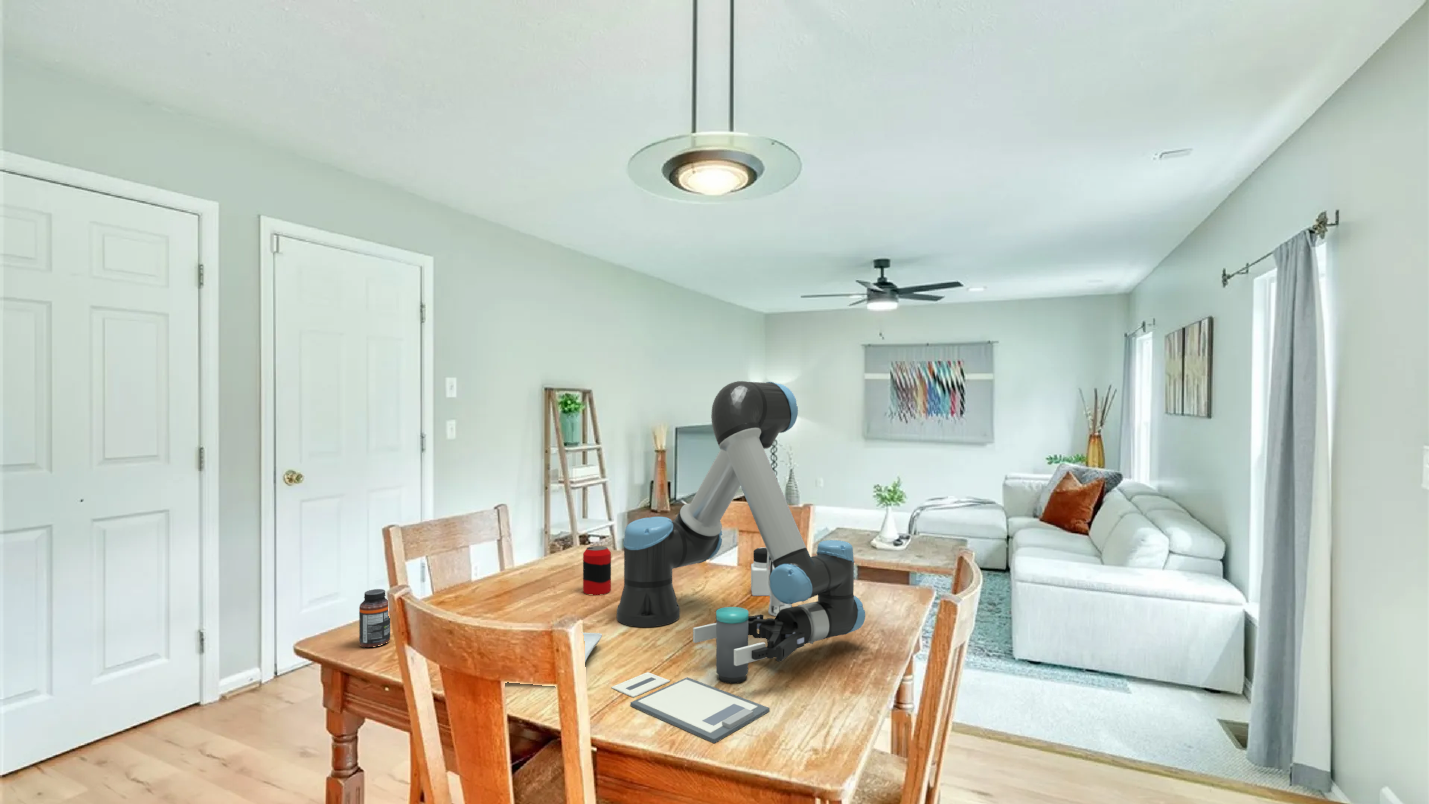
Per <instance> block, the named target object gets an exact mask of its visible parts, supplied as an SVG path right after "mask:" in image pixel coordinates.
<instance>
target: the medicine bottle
mask: <svg viewBox="0 0 1429 804" xmlns="http://www.w3.org/2000/svg"><path fill="white" fill-rule="evenodd" d="M767 552H768V551H767V549H766V546H765V547H764V546H763V547H757V548H754V550H753V563H750V589H751V596H752V597H754V596H755V597H762V596H763V597H766V596H767V597H770V593H769V587H768V581H767V569H766V568H767Z"/></svg>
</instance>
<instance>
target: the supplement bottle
mask: <svg viewBox="0 0 1429 804" xmlns="http://www.w3.org/2000/svg"><path fill="white" fill-rule="evenodd" d="M363 598H364V600H363V601H362V602H361V603H360V604H359V608H358V609H359V610H358V611H359V613H358V614H359V615H358V617H359V619H358V622H359V624H358V625H359V627H358V628H359V631H358V632H359V635H358V637H359V638H358V640H359V646H360V645H361V646H360V647H362V646H363V647H362V648H365V647H373V646H378V645H381V644H385V643H386V642H388V641H389V640H391V617H390V618H389V616H388V600H389V599H388V600H387V598H386V590H385V589H384V588H376V589H375V588H374V589H369V590H366V591H365V592H364V597H363ZM389 642H390V641H389ZM389 642H388V643H389ZM385 645H386V644H385Z"/></svg>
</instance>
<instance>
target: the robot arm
mask: <svg viewBox="0 0 1429 804" xmlns="http://www.w3.org/2000/svg"><path fill="white" fill-rule="evenodd" d="M798 407H799V406H798V405H797V398H796V397H795V395H794V393H793V391H792V390H791V389H790V388H789V387H787V386H786V385H784V384H781V383H776V382H773V381H766V382H759V381H758V382H755V381H745V380H744V381H743V380H740V381H739V380H737V381H733V382H731V383H728V384H726V385H725V386H723V387H722V388H721V389H720V390H719V392H718V393H717V394H716V396H715V398H714V400H713V401H712V406H711V414H710V415H711V425H712V431H713V434H714V437H715V439H716V440H715V441H716V442H717V444H718V447H719V452H718V453H717V455H716V456H715V459H714V461H713V462H712V464H711V466H710V468H709V469H708V472H707V473H706V475H705V476H704V478H703V480H702V482H701V484H700V486H699V487H698V489H697V491H696V492H695V494H694V497H692V500H691V502H689V503H686V504H684V505H682V506H681V508H680V510H679V512H678V513H677V515H676V516H675V518H674V520H672V519H671V518H669V517H666V516H651V517H643V518H638V519H635V520H633V521H631V522H629V524H627V525H626V527H625V529H624V539H623V559H624V560H623V564H624V565H623V587H622V588H623V589H622V592H621V596H620V600H619V604H618V605H617V608H616V621H618V622H619V623H621V624H623V625H626V626H631V627H636V628H637V627H638V628H651V627H653V628H654V627H660V626H665V625H669V624H672V623H675V622H677V621H678V620H679V619H680V605H679V603H678V599H677V597H676V593H675V589H674V586H673V585H674V584H673V570H675V569H677V568H683V567H686V566H691V565H696V564H701V563H705V562H706V561H708V560H711V559H712V558H713V557H715V556H716V555H717V554H718V552H719V551H720V549H721V547H722V542H723V538H722V536H723V531H722V529H723V525H722V521H721V520H722V518H723V517H724V515H725V513H726V511H727V510H728V508H729V506H730V505H731V503H732V501H733V499H734V498H735V496H736V495H737V492H738V491H739V489H740V488H741V491H742V493H743V496H744V498H745V500H746V503H747V505H748V507H749V510H750V512H751V514H752V517H753V519H754V521H755V524H756V527H757V529H758V532H759V534H760V536H761V539H762V541H763V544H764V546H765V547H766V549H767V551H768V553H769V556H770V558H771V561H772V563H773V566H774V570H773V571H772V573H771V575H770V588H771V591H772V593H773V595H774V596H775V597H776V598H777V599H778V600H779V601H780V602H782V603H785V604H796V603H800V602H802V603H803V604H798V605H796V606H792V607H790V608H785V609H782V610H780V611H779V612H778V614H777V616H774V618H772V617H769V618H768V617H767V618H765V617H764V614H756V615H748V636H752V637H753V638H754V639H765V640H766V643H765V642H764V641H762V642H758V643H754V644H748V646H745V647H741V648H737V649H734V665H735V666H738V665H742V664H746V663H748V664H749V663H752V662H756V661H760V660H763V659H766V658H767V659H768V660H773V659H774V658H775V661H777V662H783V661H784V660H785V659H786V658H788V657H789V656H790V655H792V654H793V653H794V652H795V651H797V650H798V649H800V648H803V647H804V646H805V645H807V644H810V645H814V642H817V641H823V640H825V639H830V638H833V637H837V636H844V635H848V634H849V633H853V632H855V631H857V630H859V629H860V628H862V627H863V625H864V624H865V620H866V610H865V608H864V607H863V606H864V605H863V602H862V600H861V599H860V598H858V597H857V596H856V595H854V589H855V588H854V587H855V586H854V582H855V581H854V580H855V579H854V577H855V576H854V575H855V558H854V547H853V545H852V544H851V543H849V542H848V541H844V540H839V539H838V540H837V539H827V540H821V541H820V542H819V543H818V545H817V548H816V549H817V551H816V555H812V556H811V555H810V552H809V551H808V548H807V546H806V543H805V542H804V541H805V540H804V539H803V537H802V534H801V532H800V530H799V527H798V525H797V523H796V521H795V518H794V516H793V513H792V511H791V509H790V506H789V504H788V502H787V499H786V497H785V495H784V493H783V490H782V487H781V485H780V483H779V482H778V479H777V477H776V474H775V472H774V469H773V467H772V464H771V462H770V460H769V458H768V455H767V453H766V451H765V450H767V449H770V448H771V447H772V446H773V444H774V442H775V440H776V439H777V437H778V436H779V434H782V433H785V432H787V431H789V430H790V429H792V428H793V427H794V425H795V424H796V422H797V419H798V416H799V415H798V414H799V410H798ZM816 596H817V601H812V602H811V601H810V602H807V603H804V602H806V601H807V600H809V599H811V598H813V597H816ZM764 618H765V619H764ZM713 639H716V622H714V623H708V624H705V625H700V626H694V627H692V642H693V643H694V644H697V643H701V642H705V641H710V640H713Z"/></svg>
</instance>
